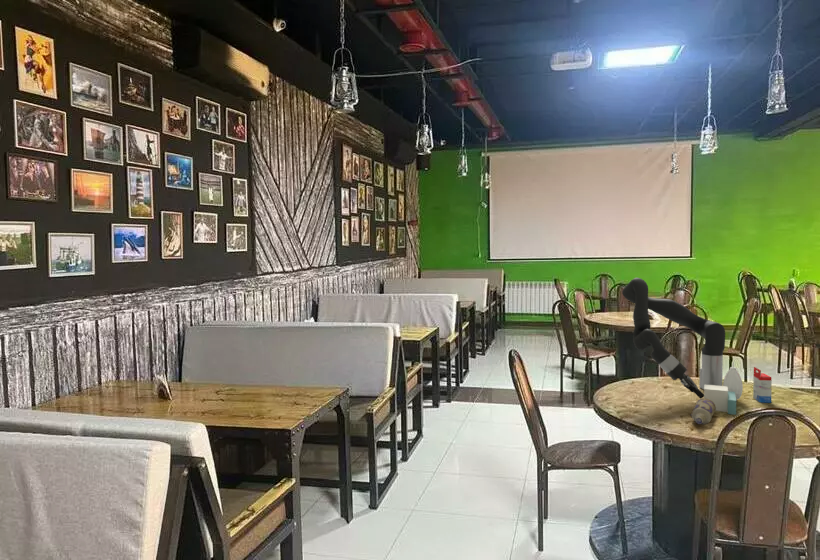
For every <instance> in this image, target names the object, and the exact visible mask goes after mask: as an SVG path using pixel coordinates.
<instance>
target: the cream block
mask: <svg viewBox="0 0 820 560" xmlns="http://www.w3.org/2000/svg"><path fill="white" fill-rule="evenodd" d="M703 394H704V397H703V398H705V399H709V400H711V401H713V402H714V404H715V406H716V409H715V411H714V412H722V413H723V412H724V413H728V388H727V386H723V385H722V386H716V385H704V389H703Z"/></svg>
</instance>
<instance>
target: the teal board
mask: <svg viewBox="0 0 820 560" xmlns="http://www.w3.org/2000/svg"><path fill="white" fill-rule="evenodd" d="M727 414H728V415H733V416H734V415H735V416H736V415H737V401H736V396H735V392H730V391H728V412H727Z"/></svg>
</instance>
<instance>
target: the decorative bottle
mask: <svg viewBox="0 0 820 560" xmlns="http://www.w3.org/2000/svg"><path fill="white" fill-rule="evenodd" d="M715 409H716V406H715V404H714V402H713V401H711V400H709V399H705V398H704V397H703V398H701V399H700V398H699V399H698V400H697V401H696V404H695V406H694V407H693V410H692V411H691V414H690V415H689V416H691V418H692V419H693V421H694V422H695V423H696V424H698V425H706V424H709V423H710V422H711V420H712V418H713V415H714V413H715V412H716V411H715Z"/></svg>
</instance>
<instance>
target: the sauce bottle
mask: <svg viewBox="0 0 820 560" xmlns="http://www.w3.org/2000/svg"><path fill="white" fill-rule="evenodd" d="M723 378H724V379H723V381H722V386H727V388H728V391H730V392H735V396H736V402H737V401H738V400H739V399H740V398H741V396H742V395H743V392H744V391H743V389H744V387H743V385H744V384H743V380H742V377H741V375H740V373H739V371H738V370H737V367H735V364H734V361H732V366H730V367H729V369H728V371H727V372H726V374H725V376H724V377H723Z"/></svg>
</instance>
